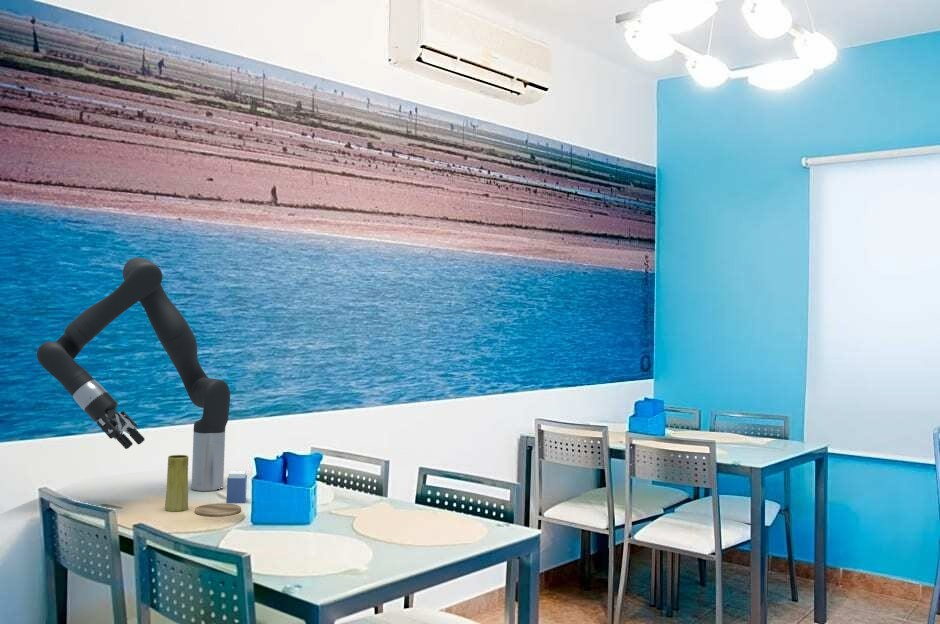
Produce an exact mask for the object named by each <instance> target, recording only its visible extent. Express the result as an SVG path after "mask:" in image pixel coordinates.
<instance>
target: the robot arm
mask: <svg viewBox="0 0 940 624" xmlns="http://www.w3.org/2000/svg"><path fill="white" fill-rule="evenodd" d="M122 268H123V269H122V278H123V282H121V284H120V285H119V286H118V287H116V289H115V290H114V291H113V292H111V293H110V294H109V295H107V296H106V297H104V298H102V299H101V300H99V301H97V302H96V303H93V305H91V306H89V307H88V308H86V309H85V310H84V311H82V313H80V314H79V315H78V316H77V317H76V318H74V320H72V321H70V323H69V324H68V325H67V326H66V327H65V329H64V332H63V334H62V335H61V336H60V337H59V338H58V339H57V340H56V341H46V342H44V343H42V344H40V345H39V347H38V349H36V350H37V351H36V358H37V362H38V363H39V364H40V365H41V367H42V368H44V369H45V370H46V371H47V372H48V374H50V375H51V376H52V377H53V378H55V379H56V380H57V381H58V382H59V383H60V384H61V385H62V386H63V388H64V390H66V391H67V392H68V394H70V396H72V398H73V399H74V401H75V402H76V403H77V405H78V406H79V407H80V408H81V409H82V411H84V412H85V413H86V414H87V415H88V416H89V417H90V419H92V421H93V422H94V423H96V425H98V427H99V428H100V429H101V430H102V432H104V434H105V435H106V436H107V438H109V439H114V440H117V442H118V443H119V444H120V445H121V446H122V447H123V448H124V449H125V450H127V449H129V448H131V447H132V446H133V441H134V442H135V443H136V444H137V445H141V444H142V443H143V442H145V440H146V439H145V437H144V436H143V435H142V434H141V433H140V432H139V431H138V424H137V423H136V422H135V421H134V420H133V419H132V418H131V417H130V416H129V415H128V414H127V413H126V412H125V411H124V410H122V411H120V412H119V411H117V410H116V408H118V404H119V403H118V402H117V400H116V399H115V398H114V397H112V395H111V393H109V392H108V391H107V389H105V388H104V387H103V386H102V384H101V383H99V382H98V381H97V380H96V379H94V377H93V376H92V375H91V374H90V373H89V372H88V371H87V370H86V368H84V367H82V366H81V365H79V364H78V363H77V361H76V360H75V358H77V356H78V355H79V354H80V353H81V352H82V350H83V348H85V346H86V345H87V344H89V343H90V342H91V341H93V339H95V337H96V336H98V335H99V334H100V333H101V332H102V331H103V330H104V329H106V328H107V326H109V325H110V324H112V322H113V321H115V320H116V319H117V318H118V317H119V316H120V315H122V314H124V313H125V312H126V311H127V310H129V309H130V308H132V307H133V306H135V304H137V303H140V304H141V306H142V309H143V310H144V311H145V314H146V316H147V319H148V320H149V323H150V325H151V327H152V329H153V330H154V333H155V335H156V337H157V339H158V340H159V343H160V344H161V346H162V347H163V349H164V351H165V352H166V354H167V356H168V358H169V359H170V361H171V363H172V364H173V366H174V368H175V370H176V371H177V373H178V375H179V376H180V379H181V381H182V384H183V386H184V388H185V391H186V393H187V395H188V397H189V400H190V402H192V403H193V405H194V406H196V407H197V408H201V409H203V411H202V417H201V418H200V419H198V420H196V421H195V422H194V423H193V435H192V437H193V439H192V440H193V442H192V460H191V461H192V467H191V470H192V471H191V487H190V488H191V490H193V491H201V492H212V491H213V492H214V491H218V490H217V489H219V488H221V487H223V488H224V478H225V477H224V474H225V447H226V444H225V443H226V426H227V425H228V422H229V418H230V417H229V416H230V406H231V404H230V403H231V390H230V387H229V385H228V383H227V382H226V381H225V380H223V379H220V378H211V377H208V375H207V374H206V372H205V371H204V370H203V368H202V366H201V364H200V361H199V359H198V343H197V339H196V336H195V334H194V332H193V330H192V329H191V326H190V324H189V323H188V322H187V320H186V318H185V317H184V316H183V314H182V313H181V312H180V311H179V309H178V308H177V306H176V305H175V304H174V303H173V302H172V301H171V299H170V298H169V297H168V295H167V293H166V292H165V291H164V288H163V285H162V282H163V273H162V270H161V269H160V267H159V266H158V265H157V264H155V263H154V262H152V261H151V260H150V259H147V258H144V257H132V258H131V259H129V260H127V261H126V263H125V264H124V266H123V267H122ZM126 434H127V435H129V436H127V435H126ZM129 437H131V439H132V440H133V441H131V439H130V438H129ZM219 490H220V489H219Z"/></svg>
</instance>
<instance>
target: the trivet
mask: <svg viewBox="0 0 940 624" xmlns="http://www.w3.org/2000/svg"><path fill="white" fill-rule="evenodd" d="M241 512H242V507H241V505H239V504H236V503H223V502H222V503H220V502H219V503H207V504H201V505H198V506H196V507H195V508H194V513H195V514H196V515H198V516H203V517H213V518H214V517H228V516H234V515H237V514H240V513H241Z"/></svg>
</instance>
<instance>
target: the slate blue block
mask: <svg viewBox="0 0 940 624" xmlns="http://www.w3.org/2000/svg"><path fill="white" fill-rule="evenodd" d="M226 479H227V480H226V483H227V484H226V503H225V504H245V503H246V501H247V489H248V488H247V485H248V483H247V482H248V475H247V471H245V470H240V471H239V470H229V472H228V477H226Z"/></svg>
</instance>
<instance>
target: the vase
mask: <svg viewBox="0 0 940 624" xmlns="http://www.w3.org/2000/svg"><path fill="white" fill-rule="evenodd" d="M166 477H167V478H166V491H165V503H164V510H165V511H166V510H168V511H167V512H173V511H175V512H183V511H182V510H184V511H187V510H188V509H189V455H186V454H173V455H172V454H171V455H169V456H168V457H167V472H166Z"/></svg>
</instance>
